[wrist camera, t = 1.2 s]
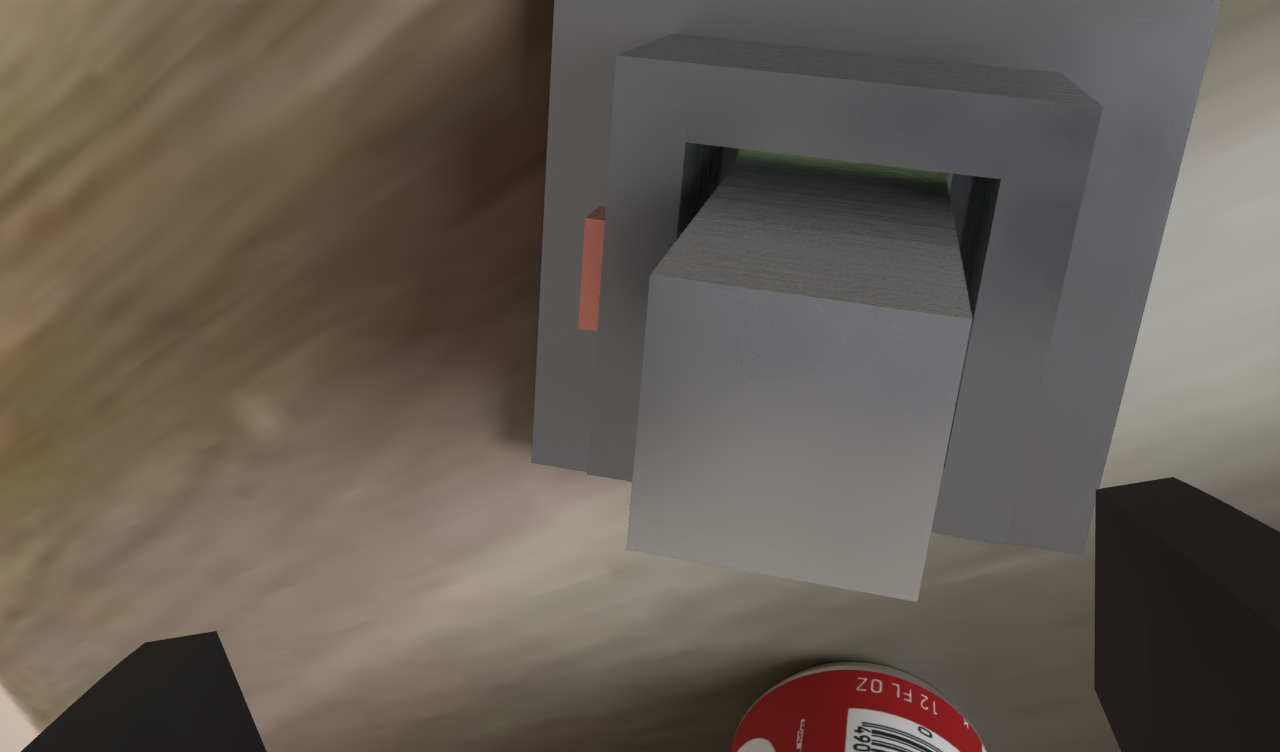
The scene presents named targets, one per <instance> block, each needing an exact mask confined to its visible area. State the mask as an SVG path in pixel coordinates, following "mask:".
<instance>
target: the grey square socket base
mask: <svg viewBox="0 0 1280 752" xmlns="http://www.w3.org/2000/svg"><path fill="white" fill-rule="evenodd" d="M1221 3H1222V0H554V17H553V37H552V58H551V78H550V98H549V118H548V139H547V159H546V179H545V199H544V219H543V240H542V260H541V280H540V300H539V320H538V341H537V361H536V381H535V401H534V422H533V442H532V462H531V463H537V464H543V465H549V466H555V467H561V468H567V469H573V470H579V471H585V472H587V474H590V475H596V476H602V477H608V478H614V479H620V480H626V481H633V469H634V457H635V446H636V434H637V422H638V411H639V399H640V387H641V375H642V364H643V352H644V340H645V329H646V317H647V305H648V294H649V282H650V274H651V273H652V272H653V270H654V269H655V268H656V267H657V265H658V264H659V263H660V261H661V260H662V259H663V257H664V256H665V255H666V254H667V252H668V251H669V250H670V248H671V247H672V246H673V244H674V243H675V242H676V241H677V239H678V238H679V237H680V235H681V234H682V233H683V231H684V230H685V229H686V228H687V226H688V225H689V224H690V222H691V221H692V220H693V218H694V217H695V216H696V215H697V213H698V212H699V211H700V209H701V208H702V207H703V205H704V204H705V203H706V202H707V200H708V199H709V198H710V196H711V195H712V194H713V192H714V191H715V190H716V188H717V187H718V186H719V185H720V183H721V182H722V181H723V179H724V178H725V177H726V175H727V174H728V173H729V172H730V170H731V169H732V168H733V166H734V165H735V164H736V162H737V158H738V149H747V150H756V151H764V152H773V153H782V154H790V155H799V156H807V157H816V158H824V159H833V160H841V161H850V162H858V163H867V164H876V165H884V166H893V167H901V168H910V169H918V170H927V171H935V172H944V173H952V174H953V177H952V182H951V188H950V193H949V196H950V201H951V206H952V212H953V217H954V222H955V228H956V233H957V239H958V244H959V249H960V255H961V260H962V265H963V271H964V276H965V281H966V287H967V292H968V298H969V303H970V308H971V314H972V324H971V330H970V335H969V340H968V345H967V350H966V355H965V360H964V365H963V370H962V376H961V381H960V386H959V391H958V396H957V401H956V406H955V411H954V417H953V422H952V427H951V432H950V437H949V442H948V447H947V452H946V458H945V463H944V468H943V473H942V478H941V483H940V488H939V493H938V499H937V504H936V509H935V514H934V519H933V524H932V529H931V532H934V533H940V534H946V535H952V536H958V537H964V538H969V539H975V540H981V541H987V542H993V543H999V544H1005V543H1012V544H1018V545H1024V546H1030V547H1036V548H1042V549H1048V550H1054V551H1060V552H1066V553H1072V554H1078V555H1082V554H1083V550H1084V546H1085V542H1086V538H1087V534H1088V530H1089V526H1090V522H1091V518H1092V514H1093V510H1094V506H1095V502H1096V490H1097V489H1099V487H1100V483H1101V479H1102V475H1103V471H1104V467H1105V463H1106V459H1107V455H1108V451H1109V447H1110V443H1111V439H1112V435H1113V431H1114V427H1115V423H1116V419H1117V415H1118V411H1119V407H1120V403H1121V399H1122V395H1123V391H1124V387H1125V383H1126V379H1127V375H1128V372H1129V368H1130V364H1131V360H1132V356H1133V352H1134V348H1135V344H1136V340H1137V336H1138V332H1139V328H1140V324H1141V320H1142V316H1143V312H1144V308H1145V304H1146V300H1147V296H1148V292H1149V288H1150V284H1151V280H1152V276H1153V272H1154V268H1155V264H1156V260H1157V256H1158V253H1159V249H1160V245H1161V241H1162V237H1163V233H1164V229H1165V225H1166V221H1167V217H1168V213H1169V209H1170V205H1171V201H1172V197H1173V193H1174V189H1175V185H1176V181H1177V177H1178V173H1179V169H1180V165H1181V161H1182V157H1183V153H1184V149H1185V145H1186V141H1187V137H1188V133H1189V130H1190V126H1191V122H1192V118H1193V114H1194V110H1195V106H1196V102H1197V98H1198V94H1199V90H1200V86H1201V82H1202V78H1203V74H1204V70H1205V66H1206V62H1207V58H1208V54H1209V50H1210V46H1211V42H1212V38H1213V34H1214V30H1215V26H1216V22H1217V18H1218V14H1219V11H1220V7H1221Z"/></svg>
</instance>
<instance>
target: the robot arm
mask: <svg viewBox="0 0 1280 752" xmlns="http://www.w3.org/2000/svg"><path fill="white" fill-rule="evenodd" d="M1095 691H1096V693H1097V695H1098V698H1099V700H1100V702H1101V705H1102V707H1103V709H1104V712H1105V714H1106V716H1107V719H1108V721H1109V723H1110V726H1111V728H1112V731H1113V733H1114V735H1115V738H1116V740H1117V742H1118V745H1119V747H1120V749H1121V752H1280V532H1278V531H1277V530H1275V529H1273V528H1271V527H1269V526H1267V525H1265V524H1264V523H1262V522H1260V521H1258V520H1256V519H1254V518H1252V517H1251V516H1249V515H1247V514H1245V513H1243V512H1241V511H1239V510H1238V509H1236V508H1234V507H1232V506H1230V505H1228V504H1226V503H1224V502H1222V501H1221V500H1219V499H1217V498H1215V497H1213V496H1211V495H1209V494H1207V493H1205V492H1203V491H1201V490H1199V489H1197V488H1195V487H1193V486H1191V485H1189V484H1187V483H1185V482H1182V481H1180V480H1178V479H1176V478H1174V477H1171V478H1165V479H1159V480H1152V481H1146V482H1140V483H1134V484H1128V485H1121V486H1115V487H1109V488H1103V489H1097V490H1096V532H1095ZM21 752H266V750H265V747H264V745H263V742H262V740H261V737H260V735H259V733H258V730H257V728H256V725H255V723H254V721H253V718H252V716H251V713H250V711H249V709H248V706H247V704H246V701H245V699H244V696H243V694H242V692H241V689H240V687H239V684H238V682H237V680H236V677H235V675H234V672H233V670H232V668H231V665H230V663H229V660H228V658H227V656H226V653H225V651H224V648H223V646H222V643H221V641H220V639H219V636H218V634H217V631H214V632H208V633H202V634H196V635H190V636H183V637H177V638H171V639H165V640H158V641H152V642H146V643H144V644H143V645H141V646H140V647H139V648H138V649H136V650H135V651H134V652H133V653H131V654H130V655H129V656H127V657H126V658H125V659H124V660H122V661H121V662H120V663H119V664H118V665H116V666H115V667H114V668H113V669H112V670H111V671H109V672H108V673H107V674H106V675H105V676H104V677H103V678H101V679H100V680H99V681H98V682H97V683H96V684H95V685H93V686H92V687H91V688H90V689H89V690H88V691H87V692H86V693H84V694H83V695H82V696H81V697H80V698H79V699H78V700H77V701H76V702H74V703H73V704H72V705H71V706H70V707H69V708H68V709H67V710H66V711H65V712H63V713H62V714H61V715H60V716H59V717H58V718H57V719H56V720H55V721H54V722H53V723H51V724H50V725H49V726H48V727H47V728H46V729H45V730H44V731H43V732H42V733H41V734H39V735H38V736H37V737H36V738H35V739H34V740H33V741H32V742H31V743H30V744H29V745H28V746H26V747H25V748H24V749H23V750H22V751H21Z"/></svg>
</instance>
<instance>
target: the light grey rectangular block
mask: <svg viewBox="0 0 1280 752" xmlns="http://www.w3.org/2000/svg"><path fill="white" fill-rule="evenodd" d="M952 177H953V174H952V173H944V172H935V171H927V170H918V169H910V168H901V167H893V166H884V165H876V164H867V163H858V162H850V161H841V160H833V159H824V158H816V157H807V156H799V155H790V154H782V153H773V152H764V151H756V150H747V149H738V158H737V162H736V164H735V165H734V166H733V168H732V169H731V170H730V172H729V173H728V174H727V175H726V177H725V178H724V179H723V181H722V182H721V183H720V185H719V186H718V187H717V188H716V190H715V191H714V192H713V194H712V195H711V196H710V198H709V199H708V200H707V202H706V203H705V204H704V205H703V207H702V208H701V209H700V211H699V212H698V213H697V215H696V216H695V217H694V218H693V220H692V221H691V222H690V224H689V225H688V226H687V228H686V229H685V230H684V231H683V233H682V234H681V235H680V237H679V238H678V239H677V241H676V242H675V243H674V244H673V246H672V247H671V248H670V250H669V251H668V252H667V254H666V255H665V256H664V257H663V259H662V260H661V261H660V263H659V264H658V265H657V267H656V268H655V269H654V270H653V272H652V273H651V274H650V282H649V294H648V305H647V317H646V329H645V340H644V352H643V364H642V375H641V387H640V399H639V411H638V422H637V434H636V446H635V457H634V469H633V481H632V492H631V504H630V516H629V527H628V539H627V550H631V551H636V552H642V553H647V554H653V555H659V556H664V557H670V558H675V559H681V560H686V561H692V562H698V563H703V564H709V565H714V566H720V567H726V568H731V569H737V570H742V571H748V572H753V573H759V574H765V575H770V576H776V577H781V578H787V579H793V580H798V581H804V582H809V583H815V584H821V585H826V586H832V587H837V588H843V589H848V590H854V591H860V592H865V593H871V594H876V595H882V596H888V597H893V598H899V599H904V600H910V601H915V602H917V601H918V596H919V591H920V586H921V580H922V575H923V570H924V565H925V560H926V555H927V550H928V545H929V540H930V534H931V529H932V524H933V519H934V514H935V509H936V504H937V499H938V493H939V488H940V483H941V478H942V473H943V468H944V463H945V458H946V452H947V447H948V442H949V437H950V432H951V427H952V422H953V417H954V411H955V406H956V401H957V396H958V391H959V386H960V381H961V376H962V370H963V365H964V360H965V355H966V350H967V345H968V340H969V335H970V330H971V324H972V314H971V308H970V303H969V298H968V292H967V287H966V281H965V276H964V271H963V265H962V260H961V255H960V249H959V244H958V239H957V233H956V228H955V222H954V217H953V212H952V206H951V201H950V196H949V193H950V188H951V182H952Z"/></svg>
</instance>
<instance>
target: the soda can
mask: <svg viewBox="0 0 1280 752" xmlns="http://www.w3.org/2000/svg"><path fill="white" fill-rule="evenodd" d="M730 752H987V750H986V748H985V746H984V743H983V741H982V740H981V738H980V736H979V734H978V732H977V731H976V730H975V728H974V727H973V725H972V724H971V722H970V721H969V720H968V719H967V718H966V717H965V715H964V714H963V713H962V712H961V711H960V710H959V709H958V708H957V707H956V706H955V705H954V704H953V703H951V702H950V701H949V700H948V699H946V698H945V697H944V696H943V695H942V694H941V693H939V692H938V691H937V690H936V689H934V688H933V687H931V686H930V685H928V684H927V683H925V682H923V681H922V680H920V679H918V678H916V677H914V676H912V675H910V674H907V673H905V672H903V671H900V670H897V669H894V668H891V667H887V666H883V665H878V664H872V663H864V662H836V663H829V664H823V665H819V666H815V667H811V668H808V669H805V670H803V671H800V672H798V673H796V674H794V675H792V676H790V677H788V678H787V679H785V680H783V681H782V682H780V683H778V684H777V685H775V686H773V687H772V688H771V689H769V690H768V691H767V692H765V693H764V694H763V695H762V696H761V697H760V698H758V699H757V700H756V701H755V702H754V704H753V705H752V706H751V707H750V708H749V709H748V711H747V712H746V714H745V715H744V717H743V718H742V720H741V722H740V724H739V726H738V728H737V730H736V733H735V736H734V738H733V742H732V747H731V751H730Z"/></svg>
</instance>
